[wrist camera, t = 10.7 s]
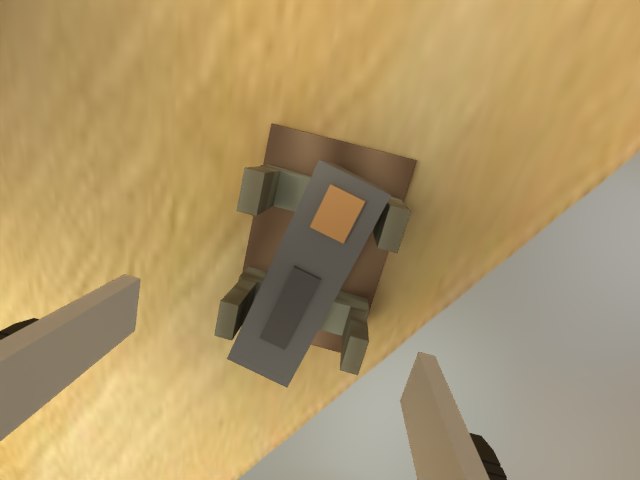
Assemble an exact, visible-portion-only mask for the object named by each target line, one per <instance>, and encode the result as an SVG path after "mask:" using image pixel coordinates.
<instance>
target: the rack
mask: <svg viewBox="0 0 640 480" xmlns="http://www.w3.org/2000/svg"><path fill="white" fill-rule="evenodd" d="M319 160H328V161H330V162H332V163H334V164H336V165H338V166H340V167H342V168H344V169H346V170H348V171H350V172H352V173H354V174H356V175H358V176H360V177H362V178H364V179H366V180H368V181H370V182H372V183H374V184H376V185H378V186H380V187H382V188H383V189H385V190H386V191H387V192H388V193H389V194H390V195H391V197H390V198H389V200H388V202H387V204H386V206H385V208H384V210H383V211H382V213H381V215H380V217H379V219H378V221H377V223H376V224H375V226H374V228H373V230H372V232H371V234H370V235H369V237H368V239H367V241H366V243H365V245H364V247H363V248H362V250H361V252H360V254H359V256H358V258H357V260H356V261H355V263H354V265H353V267H352V269H351V271H350V272H349V274H348V276H347V278H346V280H345V282H344V284H343V285H342V287H341V289H340V291H339V293H338V295H337V296H336V298H335V300H334V302H333V304H332V306H331V308H330V309H329V311H328V313H327V315H326V317H325V319H324V321H323V322H322V324H321V326H320V328H319V330H318V332H317V333H316V335H315V337H314V339H313V341H312V343H311V345H314V346H318V347H322V348H325V349H329V350H333V351H336V352H340V353H341V362H340V370H341V371H345V372H348V373H352V374H356V375H358V373H359V370H360V367H361V364H362V361H363V358H364V355H365V352H366V349H367V346H368V342H369V337H368V327H367V317H368V314H369V310H370V307H371V304H372V301H373V297H374V294H375V291H376V288H377V285H378V282H379V278H380V275H381V272H382V269H383V266H384V263H385V259H386V256H387V253H388V251H391V252H395V253H398V250H399V247H400V244H401V241H402V237H403V234H404V231H405V228H406V225H407V222H408V219H409V216H410V213H411V210H410V209H408V208H407V207H406V206H405V205H404V204H403V203H404V199H405V196H406V193H407V190H408V186H409V183H410V180H411V177H412V174H413V171H414V167H415V164H416V161H417V160H413V159H410V158H406V157H402V156H398V155H394V154H390V153H386V152H382V151H378V150H374V149H370V148H366V147H362V146H358V145H354V144H350V143H346V142H342V141H339V140H335V139H331V138H327V137H323V136H319V135H315V134H311V133H307V132H303V131H299V130H295V129H291V128H287V127H283V126H279V125H275V124H271V129H270V134H269V139H268V144H267V149H266V154H265V159H264V164H263V165H261V166H260V167H249V168H245V169H244V174H243V180H242V185H241V191H240V196H239V202H238V207H237V211H239V212H243V213H247V214H250V215H254V216H253V221H252V226H251V231H250V236H249V241H248V246H247V252H246V257H245V262H244V267H243V272H242V274H241V275H240V276H239V280H238V283H237V284H236V285H235V286H234V287H233V288H232V289H231V290H230V291H229V292H228V293H227V295H226V296H225V297H224V298H223V299H222V300H221V302H220V307H219V313H218V318H217V324H216V329H215V335H214V336H218V337H222V338H225V339H229V340H232V339H233V338H234V336H235V335H236V333H237V332H238V330H239V329H240V327H241V326H242V325H243V323H244V321H245V319H246V317H247V314H248V312H249V310H250V308H251V306H252V304H253V301H254V299H255V297H256V295H257V293H258V291H259V288H260V286H261V284H262V282H263V280H264V278H265V276H266V273H267V271H268V269H269V267H270V265H271V263H272V260H273V258H274V256H275V254H276V252H277V250H278V247H279V245H280V243H281V241H282V239H283V237H284V234H285V232H286V230H287V228H288V226H289V224H290V222H291V219H292V217H293V215H294V213H295V211H296V209H297V206H298V204H299V202H300V200H301V198H302V196H303V193H304V191H305V189H306V187H307V185H308V183H309V180H310V178H311V176H312V174H313V172H314V170H315V168H316V165H317V163H318V161H319Z"/></svg>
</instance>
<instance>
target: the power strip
mask: <svg viewBox="0 0 640 480" xmlns="http://www.w3.org/2000/svg"><path fill="white" fill-rule="evenodd" d="M390 197H391V195H390V194H389V193H388V192H387V191H386V190H385V189H383V188H382V187H380V186H378V185H376V184H374V183H372V182H370V181H368V180H366V179H364V178H362V177H360V176H358V175H356V174H354V173H352V172H350V171H348V170H346V169H344V168H342V167H340V166H338V165H336V164H334V163H332V162H330V161H328V160H319V161H318V163H317V165H316V168H315V170H314V172H313V174H312V176H311V178H310V180H309V183H308V185H307V187H306V189H305V191H304V193H303V196H302V198H301V200H300V202H299V204H298V206H297V209H296V211H295V213H294V215H293V217H292V219H291V222H290V224H289V226H288V228H287V230H286V232H285V234H284V237H283V239H282V241H281V243H280V245H279V247H278V250H277V252H276V254H275V256H274V258H273V260H272V263H271V265H270V267H269V269H268V271H267V273H266V276H265V278H264V280H263V282H262V284H261V286H260V288H259V291H258V293H257V295H256V297H255V299H254V301H253V304H252V306H251V308H250V310H249V312H248V314H247V317H246V319H245V321H244V323H243V325H242V327H241V329H240V332H239V334H238V336H237V338H236V340H235V342H234V345H233V347H232V349H231V351H230V353H229V355H228V358H227V359H228V360H231V361H233V362H235V363H237V364H239V365H241V366H243V367H245V368H247V369H249V370H251V371H254V372H256V373H258V374H260V375H262V376H264V377H266V378H268V379H270V380H272V381H274V382H277V383H279V384H281V385H283V386H285V387H288V385H289V383H290V382H291V380H292V378H293V376H294V374H295V372H296V370H297V369H298V367H299V365H300V363H301V361H302V359H303V357H304V356H305V354H306V352H307V350H308V348H309V346H310V345H311V343H312V341H313V339H314V337H315V335H316V333H317V332H318V330H319V328H320V326H321V324H322V322H323V321H324V319H325V317H326V315H327V313H328V311H329V309H330V308H331V306H332V304H333V302H334V300H335V298H336V296H337V295H338V293H339V291H340V289H341V287H342V285H343V284H344V282H345V280H346V278H347V276H348V274H349V272H350V271H351V269H352V267H353V265H354V263H355V261H356V260H357V258H358V256H359V254H360V252H361V250H362V248H363V247H364V245H365V243H366V241H367V239H368V237H369V235H370V234H371V232H372V230H373V228H374V226H375V224H376V223H377V221H378V219H379V217H380V215H381V213H382V211H383V210H384V208H385V206H386V204H387V202H388V200H389V198H390Z"/></svg>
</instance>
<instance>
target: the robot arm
mask: <svg viewBox="0 0 640 480" xmlns="http://www.w3.org/2000/svg"><path fill="white" fill-rule="evenodd" d="M139 287H140V278H136V277H133V276H129V275H125V274H124V275H122V276H120V277H118V278H117V279H115V280H113V281H111V282H109V283H107V284H105V285H103V286H102V287H100V288H98V289H96V290H94V291H92V292H90V293H88V294H86V295H85V296H83V297H81V298H79V299H77V300H75V301H73V302H71V303H70V304H68V305H66V306H64V307H62V308H60V309H58V310H56V311H55V312H53V313H51V314H49V315H47V316H45V317H43V318H41V319H36V318H33V319H29V320H26V321H22V322H19V323H15V324H13V325H11V326H9V327H7V328H5V329H3V330H1V331H0V441H1V440H3V439H4V438H5V437H6V436H7V435H9V434H10V433H11V432H12V431H13V430H15V429H16V428H17V427H18V426H20V425H21V424H22V423H23V422H24V421H26V420H27V419H28V418H29V417H30V416H32V415H33V414H34V413H35V412H37V411H38V410H39V409H40V408H41V407H43V406H44V405H45V404H46V403H47V402H49V401H50V400H51V399H52V398H54V397H55V396H56V395H57V394H58V393H60V392H61V391H62V390H63V389H64V388H66V387H67V386H68V385H69V384H71V383H72V382H73V381H74V380H75V379H77V378H78V377H79V376H80V375H81V374H83V373H84V372H85V371H86V370H88V369H89V368H90V367H91V366H92V365H94V364H95V363H96V362H97V361H98V360H100V359H101V358H102V357H103V356H105V355H106V354H107V353H108V352H109V351H111V350H112V349H113V348H114V347H115V346H117V345H118V344H119V343H120V342H122V341H123V340H124V339H125V338H126V337H128V336H129V335H130V334H131V333H132V332H134V331H135V326H136V316H137V307H138V297H139ZM400 403H401V407H402V412H403V416H404V420H405V425H406V430H407V434H408V439H409V444H410V448H411V453H412V457H413V462H414V466H415V470H416V475H417V480H507V479H506V478H507V477H506V475H505V473H504V471H503V469H502V468H501V467H500V463H499V461H498V459H497V457H496V455H495V453H494V451H493V449H492V448H491V447H490V446H489V445H488V443H487V442H486V441H485V440H484V439H483V437H482V436H479V435H475V434H472V433H469V432H468V430H467V427H466V425H465V423H464V420H463V418H462V416H461V414H460V411H459V409H458V407H457V405H456V403H455V400H454V398H453V396H452V393H451V391H450V389H449V387H448V384H447V382H446V380H445V378H444V375H443V373H442V371H441V368H440V366H439V364H438V362H437V359H436V357H435V356H433V355H429V354H425V353H422V352H418V355H417V357H416V360H415V363H414V365H413V368H412V370H411V373H410V376H409V378H408V381H407V384H406V387H405V389H404V392H403V395H402V397H401V400H400Z"/></svg>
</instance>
